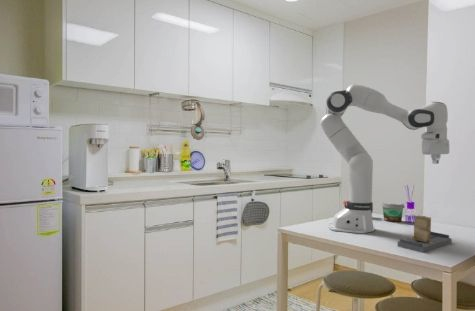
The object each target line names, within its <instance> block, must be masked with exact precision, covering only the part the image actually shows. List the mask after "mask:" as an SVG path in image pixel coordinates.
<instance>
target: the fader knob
mask: <svg viewBox="0 0 475 311" xmlns="http://www.w3.org/2000/svg"><path fill="white" fill-rule="evenodd" d="M413 217H414V218H413V219H414V221H413V237H414V240H419V241H423V242H428V241H430V236H431V232H432V230H431V229H432V217H429V216H426V215H415V216H413Z"/></svg>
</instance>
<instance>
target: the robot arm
mask: <svg viewBox="0 0 475 311" xmlns="http://www.w3.org/2000/svg"><path fill="white" fill-rule="evenodd" d="M348 107H357V108H359V109H362V110H364V111H366V112H371V113H376V114H381V115H385V116H388V117H390V118H392V119H395V120H397V121H398V122H400V123H402V124H403V125H404V127H406V128H407V129H409V130H413V131H415V130H420V129H422V128H426V131H425V132H423V133H422V134H421V135H420V136H421V137H420V138H421V153H422V155H428V156H429V155H430V157H431V161H432V162H431V163H432V164H433V165H438V164H439V163H440V159H441V157H442V155H448V154H450V140H449V139H448V127H447V123H448V121H449V120H448V107H447V104H445V103H444V102H440V101H430V102H428V103H426V105H423V106H420V107H417V108H414V109H412V110H408V109H405V108H402V107H401V106H397V105H396V104H393V103H392V102H390V101H388V99H387V97H386V96H385V94H383V93H381V92H380V91H378V90H376V89H374V88H371V87H369V86H365V85H362V84H356V83H353V84H350V85H349V86H348V87H347V88H346V89H343V90H337V91H333V92H331V93H329V95H328V96H327V97H326V101H325V111H326V114H325V115H324V116H322V118H321V119H320V122H319V125H320V126H321V129H322V130H323V133H324V134H325V136H326V137H327V139H328V140H329V142H330V143H331V144H332V145H333V147H334V148H335V150H337V152H338V153H339V154H340V156H341V157H343V159H344V160H345V161H346V162H347V163H348V182H349V183H348V184H349V185H348V200H343V201H342V204H343V205H344V208H343V209H340V211H338V212H336V213H335V214H334V216H333V220H332V222H330V223H328V229H329V230H331V231H335V232H344V233H354V234H366V233H371V232H374V231H375V227H374V222H373V211H374V204H373V202H372V201H373V171H374V170H373V169H374V168H373V167H374V165H373V164H374V162H373V158H372V155H370V154H369V152H368V151H367V150H366V149H365V147H364V146H363V145H362V144H361V143H360V141H359V140H358V139H357V138H356V136H355V134H353V132H352V131H351V130H350V128H349V127H348V126H347V125H346V123H345V122H344V121H343V119H342V116H343V115H344V113H345V112H346V111H347V109H348Z"/></svg>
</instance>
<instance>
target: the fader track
mask: <svg viewBox="0 0 475 311" xmlns="http://www.w3.org/2000/svg"><path fill="white" fill-rule="evenodd" d="M448 244H452V238H451V237H450V235H449V234H445V233H440V232H435V231H431V236H430V241H428V242H423V241H419V240H414V236H412V237H409V238H405V239H404V238H400V239H399V240H398V241H397V247H398V248H400V247H401V248H404V249H408V250H410V251H411V250H412V251H416V252H418V253H419V252H420V253H426V252H430V251H431V250H434V249H437V248H440V247H443V246H446V245H448Z"/></svg>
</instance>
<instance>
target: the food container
mask: <svg viewBox="0 0 475 311" xmlns="http://www.w3.org/2000/svg"><path fill="white" fill-rule="evenodd" d="M381 207H382V213H383V214H382V215H383V216H382V217H383V221H384V222H387V223H395V222H398V223H401V222H402V219H403V211H404V209H405V204H404V203H402V204H396V203H386V202H385V203H384V202H382V204H381Z"/></svg>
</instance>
